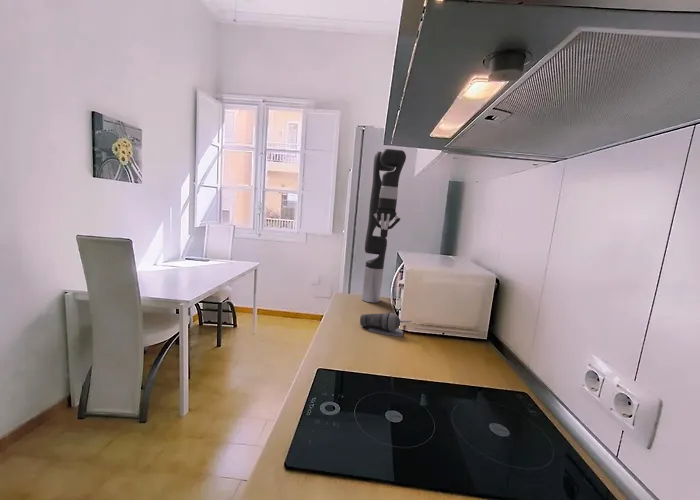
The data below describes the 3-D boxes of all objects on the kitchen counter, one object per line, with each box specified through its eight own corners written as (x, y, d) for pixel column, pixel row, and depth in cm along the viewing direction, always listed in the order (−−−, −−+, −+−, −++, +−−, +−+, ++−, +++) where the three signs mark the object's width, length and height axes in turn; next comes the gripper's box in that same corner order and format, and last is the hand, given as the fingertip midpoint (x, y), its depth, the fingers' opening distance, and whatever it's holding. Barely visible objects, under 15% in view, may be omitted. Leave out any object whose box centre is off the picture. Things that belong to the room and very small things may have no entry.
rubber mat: (374, 319, 158) (375, 318, 158) (405, 324, 155) (405, 323, 155) (368, 331, 142) (368, 329, 142) (401, 337, 140) (402, 335, 140)
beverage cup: (357, 318, 143) (408, 322, 135) (363, 307, 149) (411, 309, 141) (361, 333, 146) (410, 337, 139) (366, 321, 152) (414, 324, 145)
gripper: (404, 199, 158) (399, 239, 160) (374, 196, 160) (369, 235, 163) (403, 199, 150) (397, 240, 153) (371, 195, 153) (366, 236, 155)
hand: (383, 238), depth 158 cm, fingers closed
